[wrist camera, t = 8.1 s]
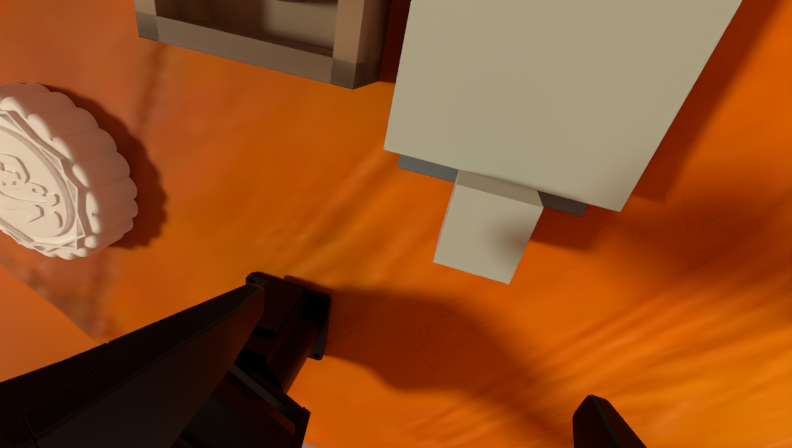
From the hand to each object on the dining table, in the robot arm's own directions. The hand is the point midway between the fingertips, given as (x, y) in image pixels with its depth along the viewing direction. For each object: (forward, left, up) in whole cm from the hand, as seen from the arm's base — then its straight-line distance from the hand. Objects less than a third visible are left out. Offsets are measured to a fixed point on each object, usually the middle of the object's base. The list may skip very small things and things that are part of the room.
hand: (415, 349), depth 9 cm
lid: (+7, -2, -11) cm, 13 cm away
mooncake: (-6, +27, -12) cm, 30 cm away
